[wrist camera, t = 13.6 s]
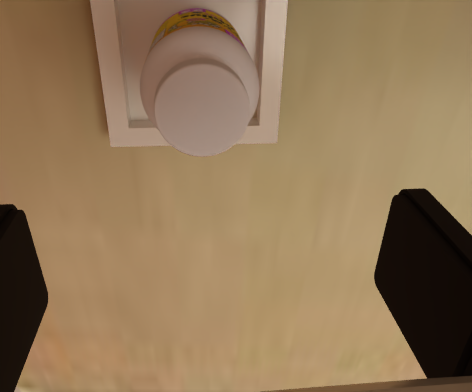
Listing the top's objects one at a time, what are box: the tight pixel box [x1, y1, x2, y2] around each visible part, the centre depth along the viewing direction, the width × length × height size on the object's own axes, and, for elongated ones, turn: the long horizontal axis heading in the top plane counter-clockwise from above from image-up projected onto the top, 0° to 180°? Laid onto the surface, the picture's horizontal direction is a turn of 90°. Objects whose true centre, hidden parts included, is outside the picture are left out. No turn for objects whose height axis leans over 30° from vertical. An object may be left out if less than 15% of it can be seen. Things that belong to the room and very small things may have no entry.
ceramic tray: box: [90, 0, 288, 147], centre depth 31 cm, size 13×13×2 cm
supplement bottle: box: [140, 8, 260, 157], centre depth 26 cm, size 7×7×13 cm
